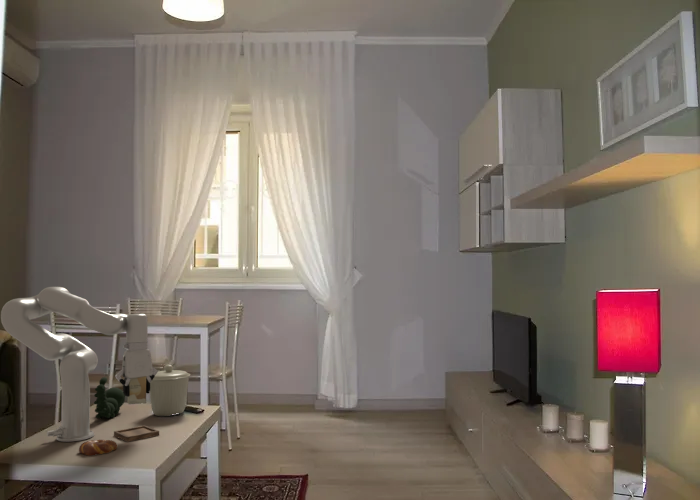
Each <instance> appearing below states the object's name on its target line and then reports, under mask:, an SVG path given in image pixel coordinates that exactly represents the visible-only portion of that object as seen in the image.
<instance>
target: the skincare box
mask: <svg viewBox="0 0 700 500" xmlns="http://www.w3.org/2000/svg"><path fill="white" fill-rule="evenodd" d="M128 385H129V386H130V396H129V397H127V396H126V397H127V402H126V403H127V404H128V405H137V404H146V403H147V402H146V401H147V398H146V397H147V393H146V376H144V377H140V378H133V379H130V382H129V384H128Z"/></svg>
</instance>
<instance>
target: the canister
mask: <svg viewBox="0 0 700 500" xmlns="http://www.w3.org/2000/svg"><path fill="white" fill-rule="evenodd" d="M190 377H191V373H188V372H187V371H185V370H180V369H178V370H176V369H175V370H174V367H173V365H171V364H166V365H165V366H164V370H161V371H159V370H158V372H157V374H156V375H155V377H154V378H153V380H152V382H150V391H149V397H150V404H151V411H152V413H153V414H154V415H155V416H158V417H170V416H169V415H172V414H176V413H181V414H182V413H183V412H184V411H185V409H186V405H187V399H188V398H187V397H188V389H189V379H190Z"/></svg>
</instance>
